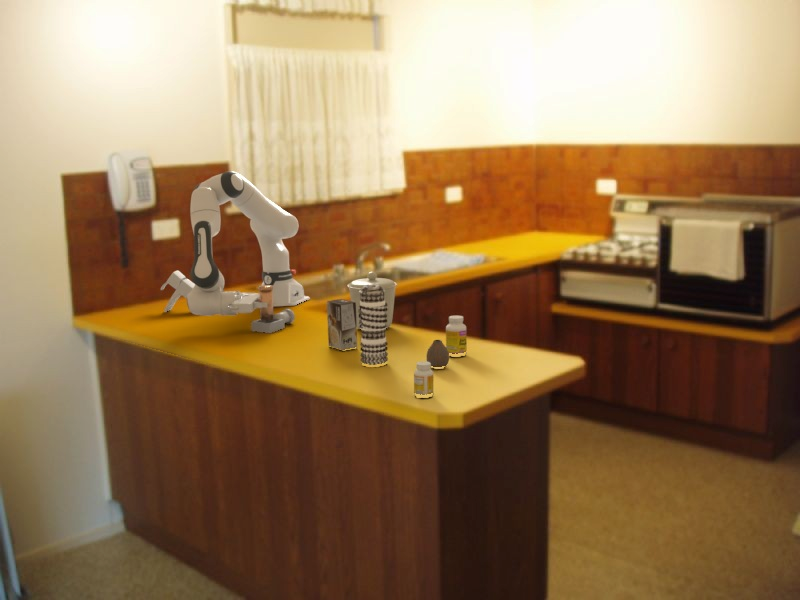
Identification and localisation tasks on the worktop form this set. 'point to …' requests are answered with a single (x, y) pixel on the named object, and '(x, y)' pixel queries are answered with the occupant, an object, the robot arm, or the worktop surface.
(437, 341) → the vase
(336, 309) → the coffee box
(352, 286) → the canister
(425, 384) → the supplement bottle
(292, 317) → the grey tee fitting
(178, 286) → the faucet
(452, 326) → the supplement bottle
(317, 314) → the worktop surface
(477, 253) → the worktop surface
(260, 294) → the copper pipe stub
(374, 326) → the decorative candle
